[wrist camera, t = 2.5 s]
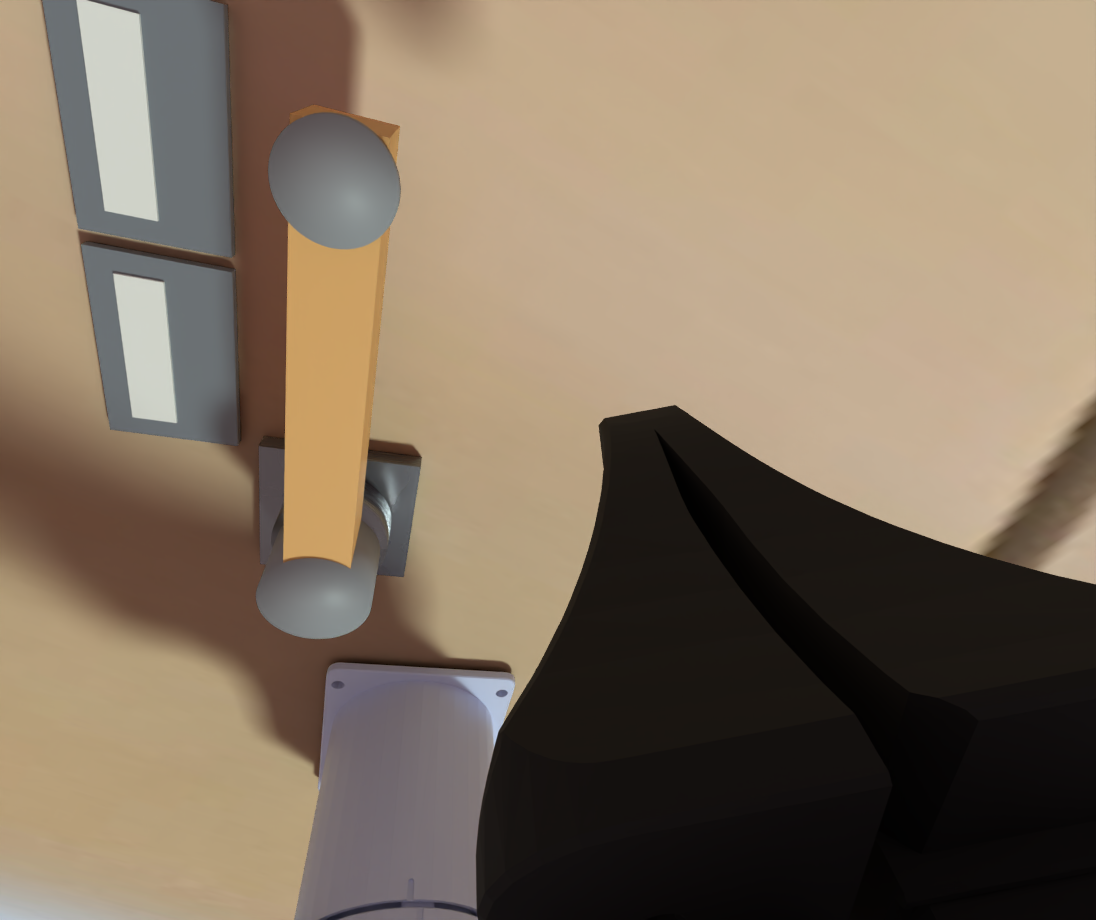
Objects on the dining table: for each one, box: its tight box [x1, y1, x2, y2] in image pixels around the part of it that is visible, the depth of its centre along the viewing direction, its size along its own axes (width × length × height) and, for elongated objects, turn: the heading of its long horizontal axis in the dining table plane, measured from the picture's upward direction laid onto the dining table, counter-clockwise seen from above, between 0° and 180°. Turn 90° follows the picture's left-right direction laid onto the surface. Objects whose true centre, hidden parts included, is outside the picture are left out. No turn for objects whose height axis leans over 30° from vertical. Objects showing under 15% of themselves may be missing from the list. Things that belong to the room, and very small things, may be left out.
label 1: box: [42, 0, 235, 258], centre depth 15 cm, size 6×4×1 cm, turn 167°
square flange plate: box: [259, 436, 422, 577], centre depth 21 cm, size 5×5×2 cm
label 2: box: [81, 241, 241, 446], centre depth 18 cm, size 6×4×1 cm, turn 167°
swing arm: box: [256, 105, 401, 639], centre depth 16 cm, size 14×3×2 cm, turn 167°
